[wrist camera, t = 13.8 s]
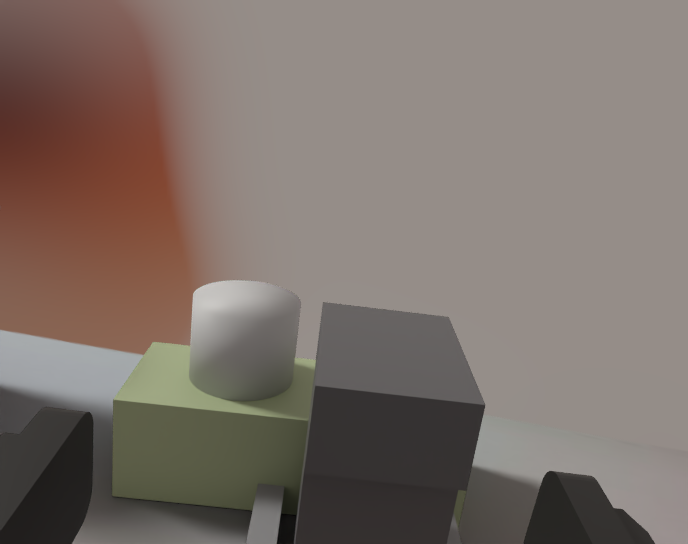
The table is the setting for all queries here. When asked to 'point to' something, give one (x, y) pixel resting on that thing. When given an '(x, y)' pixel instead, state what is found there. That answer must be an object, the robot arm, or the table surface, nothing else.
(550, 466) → the table surface
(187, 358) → the pale green boxy piece
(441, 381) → the grey lidded box
